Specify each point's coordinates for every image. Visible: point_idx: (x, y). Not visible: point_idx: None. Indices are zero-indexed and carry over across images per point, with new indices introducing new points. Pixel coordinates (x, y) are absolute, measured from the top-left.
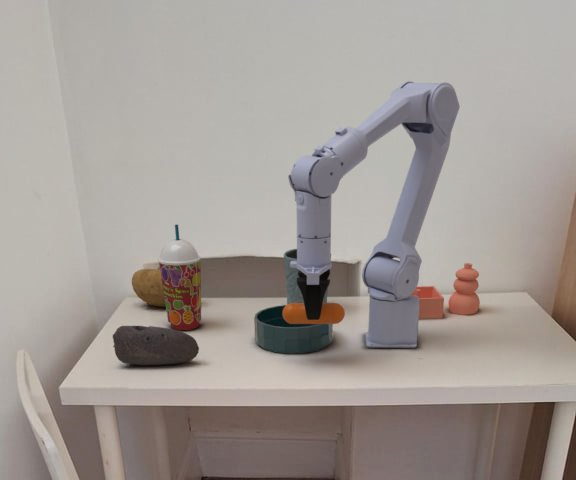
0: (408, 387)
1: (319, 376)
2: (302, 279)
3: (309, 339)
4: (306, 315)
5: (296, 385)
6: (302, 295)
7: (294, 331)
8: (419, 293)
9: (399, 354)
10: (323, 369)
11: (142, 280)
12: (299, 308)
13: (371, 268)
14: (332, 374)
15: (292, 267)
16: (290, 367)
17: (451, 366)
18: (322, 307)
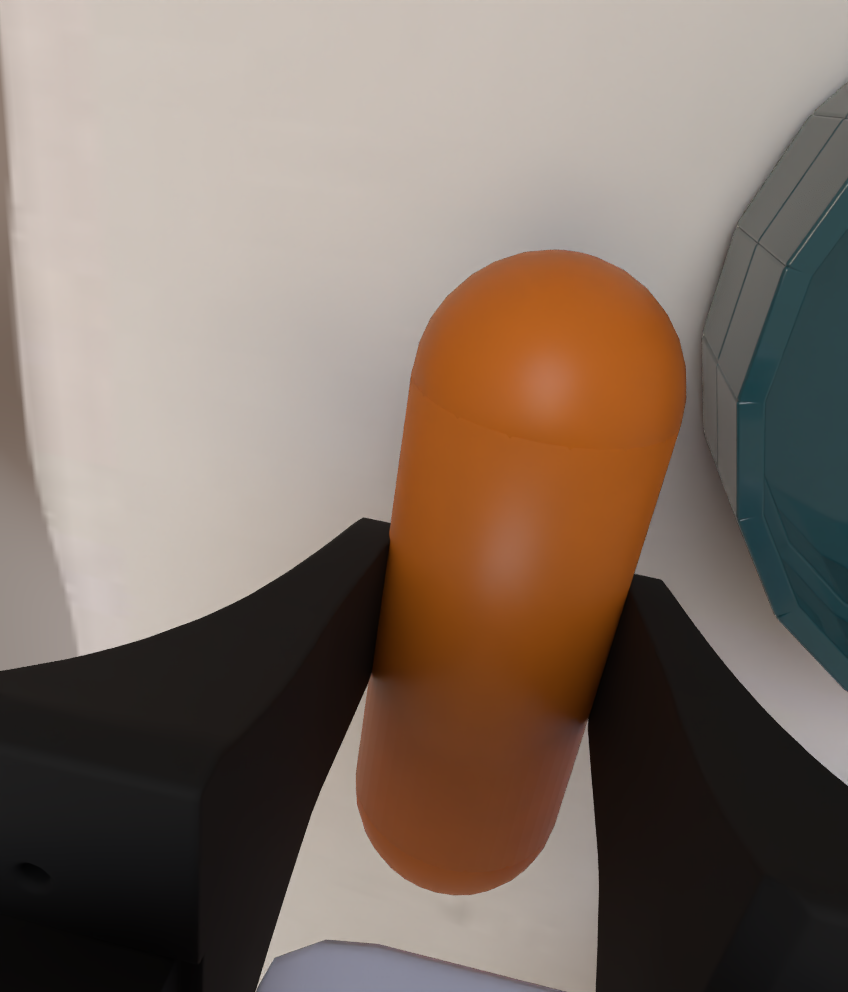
0: None
1: (236, 400)
2: (40, 848)
3: (715, 459)
4: (351, 528)
5: (79, 224)
6: (171, 630)
7: (742, 354)
8: None
9: (540, 863)
10: (357, 447)
11: None
12: (424, 496)
13: None
14: (268, 481)
15: (274, 971)
16: (421, 224)
17: None
18: (391, 735)
